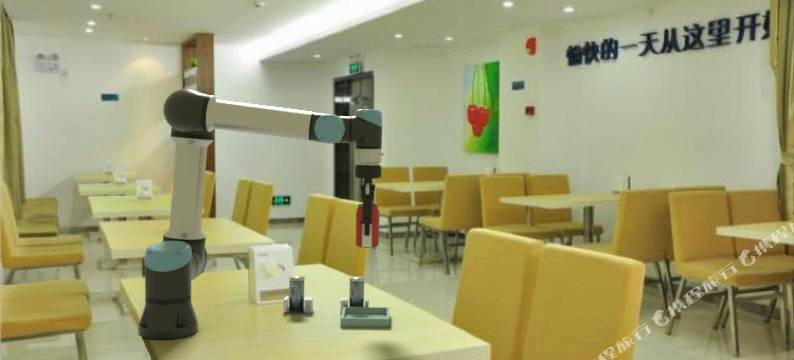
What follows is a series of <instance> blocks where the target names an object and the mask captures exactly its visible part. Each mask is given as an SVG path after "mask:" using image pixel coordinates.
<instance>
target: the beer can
mask: <svg viewBox="0 0 794 360" xmlns="http://www.w3.org/2000/svg"><path fill="white" fill-rule="evenodd" d="M362 219H363V203H359V204H357V208H356V211H355V246H356V247H358V248H364V249H374V248H377V247H378V246H379V245H380V244H379V243H380V236H379V235H380V210H379V207H378V204H376V203H372V223H371V224H372V247H362V224H360V221H362Z"/></svg>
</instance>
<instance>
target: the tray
mask: <svg viewBox="0 0 794 360" xmlns="http://www.w3.org/2000/svg"><path fill="white" fill-rule="evenodd" d="M390 316H391V315H390V307H387V306H382V307H381V306H369V307H365V306H364V307H349V306H348V307H343V310H342V314H340V324H339V327H340V328H381V327H389V328H390V324H391V323H390V322H391V321H390V320H391V319H390Z"/></svg>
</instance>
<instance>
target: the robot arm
mask: <svg viewBox="0 0 794 360" xmlns="http://www.w3.org/2000/svg"><path fill="white" fill-rule="evenodd" d="M163 117H164V119H165V121H166V123H167V124H168V125H169V126H170V128H171V129H170V139H172V141H173V142H174V143H175V150H174V163H173V164H174V165H173V178H172V190H171V203H170V204H171V205H170V213H169V214H170V217H169V228H168V229H167V230H166V231H165V232H163V235H162V241H160V242H155V243H153V244H151V245H149V246H148V247H147V248H146V250H145V253H144V254H145V256H144V261H143V262H144V290H145V292H144V295H145V298H144V299H145V301H144V307H143V310H142V313H141V316H140V319H139V322H138V325H137V326H138V327H137V331H138V332H137V334H138V335H139V337H142V338H144V339H148V340H149V339H150V340H172V339H173V340H175V339H180V338H186V337H189V336H191V335H194V334H196V333H197V332H198V331H199V321H198V317H197V314H196V312H195V310H194V305H193V303H192V281H193V280H195V279H197V278H198V277H199V276H200V275H201V274H202V273H203V271H204V270H205V269H206V266H207V263H208V257H209V256H208V251H207V248H206V239H207V238H206V237H207V236H206V234H205V233H204V232H203V231H202V219H203V206H204V195H205V182H206V170H207V169H206V168H207V158H208V156H207V155H208V147H209V145H211V144H212V143H214V139H215V130H223V131H231V132H240V133H248V134H255V135H256V134H257V135H264V136H271V137H280V138H288V139H296V140H297V139H298V140H304V141H305V140H306V141H311V142H315V143H323V144H333V145H334V144H335V143H336V144H341V143H343V144H345V143H347V144H353V143H354V144H355V146H354V147H355V149H354V163H355V166H354V177H355V178H356V179H363V183H362V184H360V192H361V200H362V204H363V219H362V221H360V224H362V247H372V224H371V223H372V204H373V201H374V200H375V199H374V198H375V190H376V184H373V180H374V179H376V180H377V179H381V178H382V165H381V163H382V157H384V155H385V154H384V152H382V149H383V148H382V145H383V144H382V143H383V114H382V112H381V111H380V110H379V109H368V108H367V109H357V110H355V114H354V115H352V116H351V115H350V116H345V115H337V114H334V113H323V112H312V111H307V110H299V109H291V108H283V107H277V106H276V107H275V106H267V105H259V104H252V103H245V102H238V101H237V102H235V101H229V100H221V99H218V98H217V97H216V96H215V95H211V94H207V93H206V92H203V91H199V90H193V89H188V88H181V89H177V90H176V91H173V92H172V93H169V95H168V96H167V98H166V99H165V101H164V103H163Z"/></svg>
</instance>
